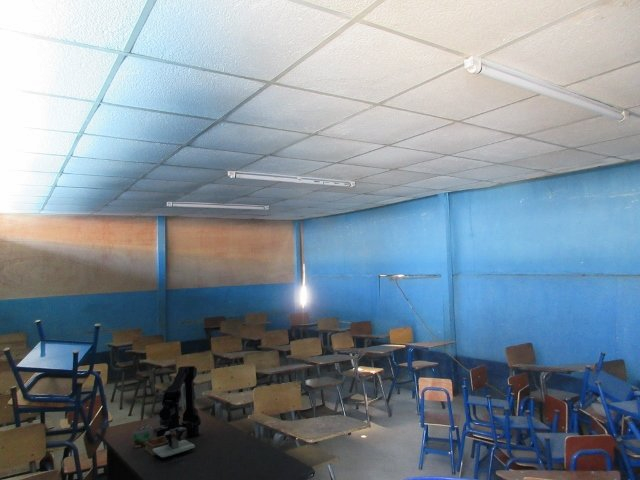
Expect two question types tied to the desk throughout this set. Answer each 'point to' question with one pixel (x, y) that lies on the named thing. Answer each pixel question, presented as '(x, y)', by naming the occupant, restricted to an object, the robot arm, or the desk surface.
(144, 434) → the food container
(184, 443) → the lid
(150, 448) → the crate
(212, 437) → the desk surface
